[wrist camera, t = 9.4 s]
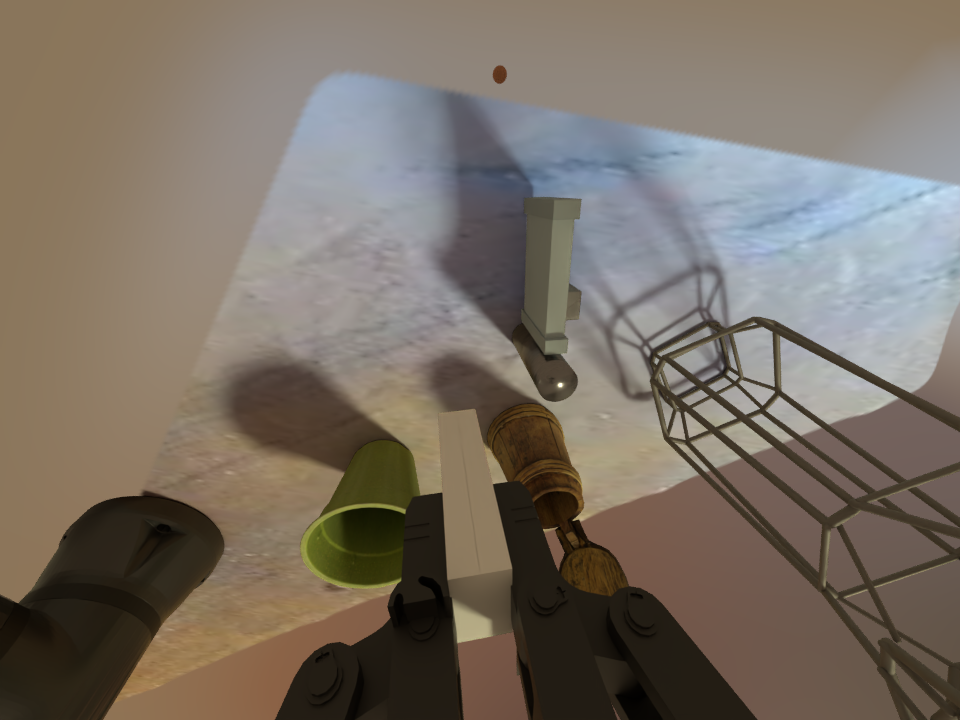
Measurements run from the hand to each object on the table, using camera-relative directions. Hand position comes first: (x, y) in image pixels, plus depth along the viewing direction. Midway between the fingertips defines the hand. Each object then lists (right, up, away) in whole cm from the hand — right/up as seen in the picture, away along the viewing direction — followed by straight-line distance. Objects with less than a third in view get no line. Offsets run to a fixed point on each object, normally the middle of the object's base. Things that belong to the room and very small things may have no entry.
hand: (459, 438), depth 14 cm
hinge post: (+6, +6, +22) cm, 23 cm away
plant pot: (-11, -9, +27) cm, 30 cm away
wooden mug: (+7, -7, +29) cm, 30 cm away
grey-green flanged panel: (+6, +12, +17) cm, 22 cm away
